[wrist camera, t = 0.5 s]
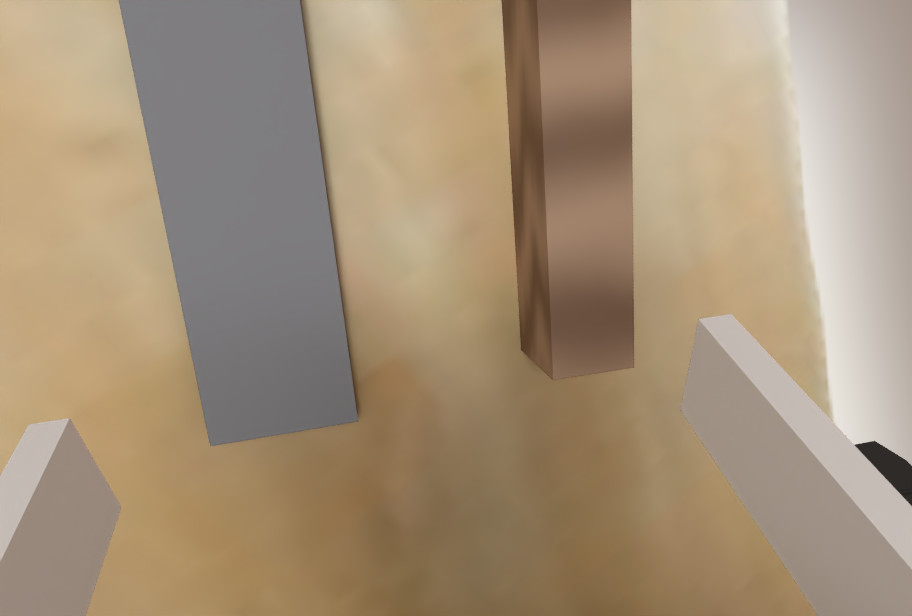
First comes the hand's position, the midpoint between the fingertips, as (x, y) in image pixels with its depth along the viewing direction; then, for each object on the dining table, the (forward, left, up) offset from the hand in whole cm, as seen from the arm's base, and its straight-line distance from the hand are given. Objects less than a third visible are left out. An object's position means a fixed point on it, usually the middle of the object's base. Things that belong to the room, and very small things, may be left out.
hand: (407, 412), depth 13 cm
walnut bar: (+5, -10, -18) cm, 21 cm away
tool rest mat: (+5, +4, -18) cm, 19 cm away
